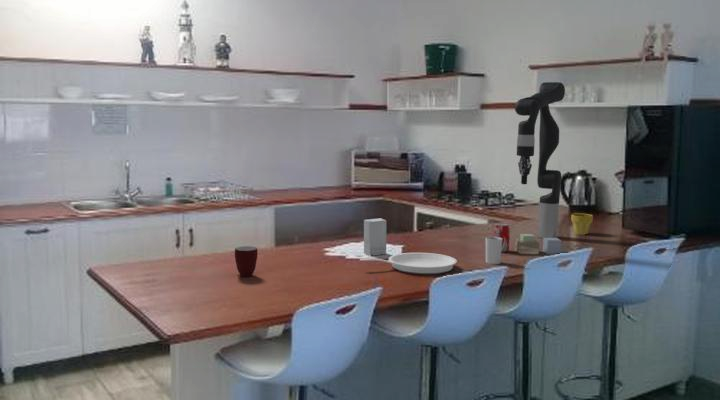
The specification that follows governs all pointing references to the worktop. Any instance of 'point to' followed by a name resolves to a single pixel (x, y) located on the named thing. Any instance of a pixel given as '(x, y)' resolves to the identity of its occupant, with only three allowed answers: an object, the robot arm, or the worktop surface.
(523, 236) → the green cap
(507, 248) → the soda can
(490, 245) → the drinking glass
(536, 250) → the button housing
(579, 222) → the plant pot
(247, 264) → the mug
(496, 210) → the worktop surface
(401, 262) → the pan
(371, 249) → the skincare box
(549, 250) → the slate block
